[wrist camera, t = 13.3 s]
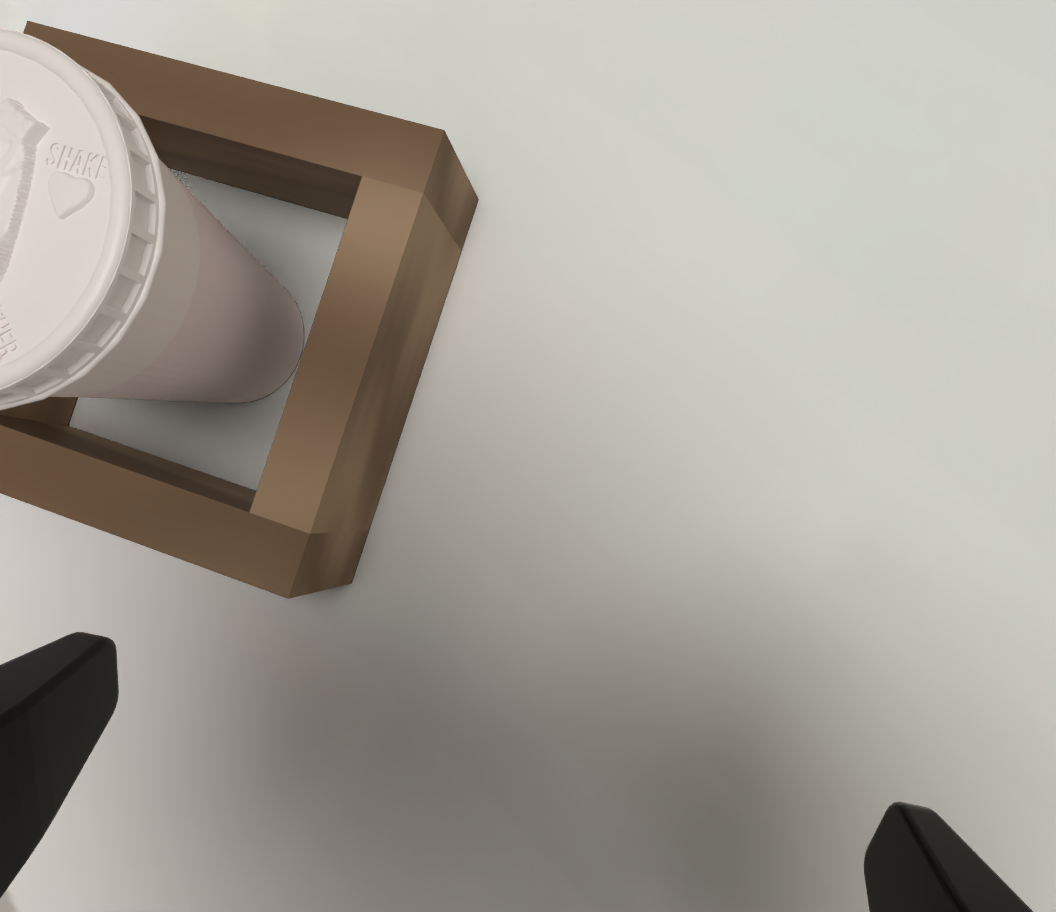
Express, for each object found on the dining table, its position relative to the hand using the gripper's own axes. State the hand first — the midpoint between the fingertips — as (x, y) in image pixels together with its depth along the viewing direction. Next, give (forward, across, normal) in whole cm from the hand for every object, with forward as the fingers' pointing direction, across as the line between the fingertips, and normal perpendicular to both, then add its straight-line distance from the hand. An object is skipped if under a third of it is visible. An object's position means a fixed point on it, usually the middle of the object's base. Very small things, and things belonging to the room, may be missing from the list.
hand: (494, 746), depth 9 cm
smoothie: (+14, +9, +1) cm, 17 cm away
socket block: (+14, +9, +1) cm, 17 cm away
